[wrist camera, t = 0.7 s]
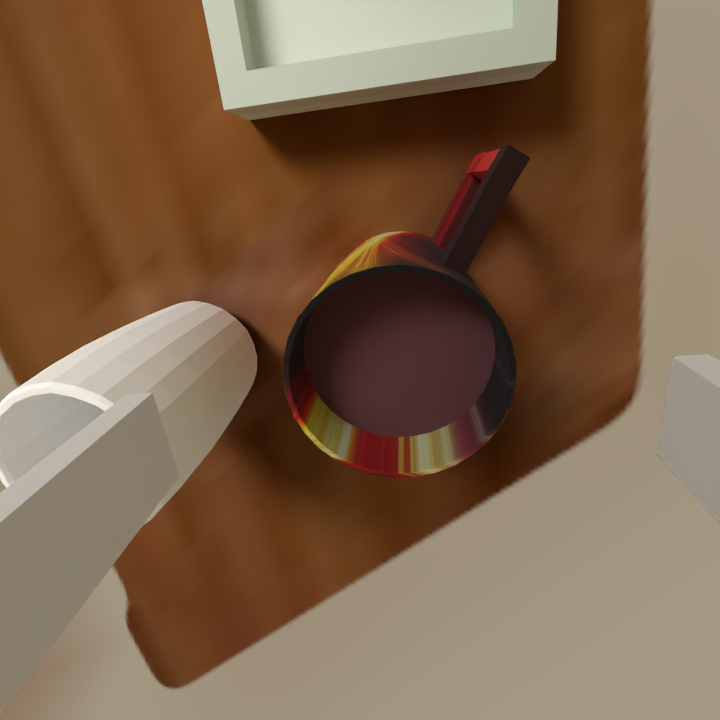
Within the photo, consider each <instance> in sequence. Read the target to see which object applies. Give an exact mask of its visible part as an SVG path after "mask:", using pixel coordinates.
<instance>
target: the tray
mask: <svg viewBox="0 0 720 720" xmlns="http://www.w3.org/2000/svg"><path fill="white" fill-rule="evenodd" d="M202 2H203V7H204V12H205V17H206V22H207V27H208V32H209V37H210V42H211V47H212V52H213V57H214V62H215V67H216V72H217V77H218V82H219V87H220V92H221V97H222V102H223V107H224V110H225V111H228V112H230V113H233V114H235V115H238V116H240V117H243V118H245V119H248V120H255V119H262V118H268V117H275V116H282V115H289V114H296V113H302V112H309V111H316V110H323V109H330V108H336V107H343V106H350V105H357V104H364V103H370V102H377V101H384V100H391V99H398V98H404V97H411V96H418V95H425V94H432V93H438V92H445V91H452V90H459V89H466V88H472V87H479V86H486V85H493V84H500V83H506V82H513V81H520V80H527V79H532V78H534V77H535V76H536V75H537V74H539V73H540V72H541V71H542V70H544V69H545V68H546V67H547V66H549V65H550V64H551V63H552V62H554V61H555V60H556V41H557V16H558V0H202Z"/></svg>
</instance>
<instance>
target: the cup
mask: <svg viewBox="0 0 720 720" xmlns="http://www.w3.org/2000/svg"><path fill="white" fill-rule="evenodd" d="M256 372H257V354H256V350H255V346H254V343H253V341H252V339H251V337H250V335H249V332H248V330H247V329H246V328H245V327H244V326H243V325H242V324H241V323H240V322H239V321H238V320H237V319H236V318H235V317H234V316H232V315H231V314H229V313H228V312H227V311H225V310H224V309H222V308H219V307H217V306H214V305H211V304H209V303H204V302H198V301H189V302H183V303H179V304H176V305H173V306H170V307H168V308H165V309H163V310H160V311H158V312H156V313H153V314H151V315H148V316H146V317H144V318H141V319H139V320H137V321H135V322H132V323H130V324H128V325H126V326H124V327H122V328H119V329H117V330H115V331H113V332H111V333H109V334H107V335H105V336H103V337H101V338H99V339H97V340H95V341H93V342H91V343H89V344H87V345H85V346H83V347H81V348H80V349H78V350H76V351H75V352H73V353H71V354H69V355H68V356H66V357H64V358H63V359H61V360H59V361H58V362H56V363H54V364H53V365H51V366H49V367H48V368H46V369H45V370H43V371H42V372H40V373H39V374H37V375H36V376H34V377H33V378H31V379H30V380H28V381H27V382H25V383H24V384H23V385H21V386H20V387H18V388H17V389H15V390H14V391H12V392H11V393H9V394H8V395H7V396H6V397H5V398H4V399H3V400H2V401H1V402H0V479H1V481H2V483H3V484H4V486H5V487H6V488H7V487H9V486H10V485H11V484H12V483H14V482H15V481H16V480H18V479H19V478H20V477H21V476H23V475H24V474H25V473H26V472H28V471H29V470H30V469H32V468H33V467H34V466H35V465H37V464H38V463H39V462H41V461H42V460H43V459H44V458H46V457H47V456H48V455H50V454H51V453H52V452H53V451H55V450H56V449H57V448H59V447H60V446H61V445H62V444H64V443H65V442H66V441H68V440H69V439H70V438H71V437H73V436H74V435H75V434H77V433H78V432H79V431H80V430H82V429H83V428H84V427H86V426H87V425H88V424H89V423H91V422H92V421H93V420H95V419H96V418H97V417H98V416H100V415H101V414H102V413H104V412H105V411H106V410H107V409H109V408H110V407H111V406H113V405H114V404H115V403H116V402H118V401H119V400H120V399H121V398H123V397H124V396H125V395H127V394H139V393H153V395H154V398H155V401H156V404H157V408H158V411H159V414H160V417H161V420H162V423H163V426H164V429H165V432H166V435H167V439H168V442H169V445H170V448H171V451H172V454H173V457H174V460H175V463H176V466H177V469H178V473H179V478H178V479H177V480H176V482H175V483H174V484H173V486H172V487H171V488H170V490H169V491H168V492H167V494H166V495H165V496H164V498H163V499H162V500H161V502H160V503H159V504H158V506H157V507H156V508H155V510H154V511H153V512H152V514H151V515H150V516H149V518H148V519H147V520H146V522H145V523H144V524H146V523H147V522H148V521H150V520H151V519H152V518H153V517H154V516H155V515H156V514H157V513H158V511H159V510H160V509H161V508H162V507H163V506H164V505H165V504H166V503H167V502H168V501H169V499H170V498H171V497H172V496H173V495H174V494H175V493H176V492H177V491H178V490H179V489H180V487H181V486H182V485H183V484H184V482H185V481H186V480H187V479H188V477H189V476H190V475H191V474H192V473H193V471H194V470H195V469H196V468H197V466H198V465H199V464H200V463H201V461H202V460H203V459H204V458H205V457H206V455H207V454H208V453H209V452H210V450H211V449H212V448H213V446H214V445H215V443H216V442H217V441H218V439H219V438H220V436H221V435H222V433H223V432H224V431H225V429H226V428H227V426H228V425H229V423H230V422H231V420H232V419H233V417H234V416H235V414H236V413H237V411H238V409H239V408H240V406H241V404H242V403H243V401H244V399H245V398H246V396H247V394H248V392H249V391H250V389H251V387H252V385H253V383H254V379H255V376H256ZM144 524H143V525H144Z"/></svg>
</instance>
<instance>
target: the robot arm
mask: <svg viewBox="0 0 720 720" xmlns="http://www.w3.org/2000/svg"><path fill="white" fill-rule="evenodd" d="M657 456H658V457H659V458H660V459H661V460H662V462H663V463H664V464H665V465H666V466H667V467H668V468H669V469H670V470H671V471H672V472H673V474H674V475H675V476H676V477H677V478H678V479H679V480H680V481H681V482H682V483H683V484H684V485H685V487H686V488H687V489H688V490H689V491H690V492H691V493H692V494H693V495H694V496H695V497H696V498H697V500H698V501H699V502H700V503H701V504H702V505H703V506H704V507H705V508H706V509H707V510H708V512H709V513H710V514H711V515H712V516H713V517H714V518H715V519H716V520H717V521H718V523H720V361H719V360H718V359H716V358H714V357H712V356H711V355H709V354H700V355H686V356H673V357H672V362H671V368H670V374H669V381H668V387H667V393H666V400H665V406H664V413H663V419H662V426H661V432H660V439H659V445H658V451H657ZM178 478H179V473H178V469H177V466H176V463H175V460H174V457H173V454H172V451H171V448H170V445H169V442H168V439H167V435H166V432H165V429H164V426H163V423H162V420H161V417H160V414H159V411H158V408H157V404H156V401H155V398H154V395H153V393H139V394H127V395H125V396H124V397H123V398H121V399H120V400H119V401H118V402H116V403H115V404H114V405H113V406H111V407H110V408H109V409H107V410H106V411H105V412H104V413H102V414H101V415H100V416H98V417H97V418H96V419H95V420H93V421H92V422H91V423H89V424H88V425H87V426H86V427H84V428H83V429H82V430H80V431H79V432H78V433H77V434H75V435H74V436H73V437H71V438H70V439H69V440H68V441H66V442H65V443H64V444H62V445H61V446H60V447H59V448H57V449H56V450H55V451H53V452H52V453H51V454H50V455H48V456H47V457H46V458H44V459H43V460H42V461H41V462H39V463H38V464H37V465H35V466H34V467H33V468H32V469H30V470H29V471H28V472H26V473H25V474H24V475H23V476H21V477H20V478H19V479H18V480H16V481H15V482H14V483H12V484H11V485H10V486H9V487H7V488H6V489H5V490H4V491H2V492H1V493H0V714H1V713H2V712H3V710H4V709H5V708H6V706H7V705H8V703H9V702H10V701H11V700H12V698H13V697H14V696H15V694H16V693H17V691H18V690H19V689H20V688H21V686H22V685H23V684H24V682H25V681H26V680H27V678H28V677H29V675H30V674H31V673H32V672H33V670H34V669H35V668H36V666H37V665H38V664H39V662H40V661H41V660H42V658H43V657H44V656H45V654H46V653H47V652H48V650H49V649H50V648H51V646H52V645H53V644H54V642H55V641H56V640H57V638H58V637H59V636H60V634H61V633H62V632H63V630H64V629H65V628H66V626H67V625H68V624H69V622H70V621H71V620H72V618H73V617H74V616H75V615H76V613H77V612H78V610H79V609H80V608H81V607H82V605H83V604H84V603H85V601H86V600H87V599H88V597H89V596H90V595H91V593H92V592H93V591H94V589H95V588H96V587H97V585H98V584H99V583H100V581H101V580H102V579H103V577H104V576H105V575H106V573H107V572H108V571H109V569H110V568H111V567H112V565H113V564H114V563H115V561H116V560H117V559H118V557H119V556H120V555H121V553H122V552H123V551H124V549H125V548H126V547H127V545H128V544H129V543H130V541H131V540H132V539H133V537H134V536H135V535H136V533H137V532H138V531H139V529H140V528H141V527H142V526H143V524H144V523H145V522H146V520H147V519H148V518H149V516H150V515H151V514H152V512H153V511H154V510H155V508H156V507H157V506H158V504H159V503H160V502H161V500H162V499H163V498H164V496H165V495H166V494H167V492H168V491H169V490H170V488H171V487H172V486H173V484H174V483H175V482H176V480H177V479H178Z"/></svg>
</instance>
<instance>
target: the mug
mask: <svg viewBox="0 0 720 720" xmlns="http://www.w3.org/2000/svg"><path fill="white" fill-rule="evenodd" d="M529 159H530V157H528V156H526V155H525V154H523V153H521V152H520V151H518V150H517V149H515V148H513V147H512V146H510V145H508V146H505V147H502V148H499V149H496V150H494V151H491V152H488V151H486V152H483V153H480V154H478V155H475V157H474V159H473V160H472V162H471V164H470V166H469V167H468V169H467V171H466V173H465V175H464V177H463V179H462V181H461V183H460V185H459V187H458V188H457V190H456V192H455V194H454V196H453V198H452V200H451V202H450V204H449V206H448V208H447V210H446V212H445V214H444V216H443V218H442V220H441V222H440V224H439V226H438V228H437V230H436V232H435V234H434V236H433V238H431V237H428V236H424V235H421V234H418V233H413V232H403V231H398V232H388V233H383V234H380V235H377V236H374V237H371V238H369V239H367V240H366V241H364V242H362V243H360V244H358V245H357V246H356V247H355V248H354V249H352V250H351V251H350V252H349V253H348V254H347V255H346V256H345V257H344V259H343V260H342V261H341V262H340V264H339V265H338V266H337V268H336V269H335V270H334V271H333V273H332V274H331V275H330V277H329V278H328V279H327V280H326V282H325V283H324V284H323V286H322V287H321V288H320V289H319V291H318V292H317V293H316V295H315V296H314V297H313V299H312V300H311V301H310V302H309V304H308V305H307V306H306V308H305V309H304V310H303V311H302V313H301V314H300V315H299V317H298V318H297V320H296V322H295V324H294V326H293V328H292V330H291V332H290V334H289V336H288V340H287V344H286V348H285V352H284V356H283V383H284V388H285V394H286V398H287V401H288V403H289V406H290V408H291V411H292V413H293V416H294V418H295V419H296V421H297V422H298V424H299V425H300V427H301V428H302V430H303V431H304V433H305V434H306V435H307V436H308V437H309V438H310V439H311V440H312V441H313V442H314V443H315V444H316V446H317V447H318V448H320V449H321V450H322V451H324V452H325V453H326V454H328V455H329V456H331V457H332V458H333V459H335V460H336V461H338V462H341V463H343V464H345V465H347V466H349V467H351V468H353V469H355V470H359V471H362V472H365V473H369V474H372V475H378V476H385V477H393V478H398V477H417V476H422V475H427V474H432V473H436V472H439V471H442V470H444V469H447V468H450V467H452V466H455V465H457V464H458V463H460V462H462V461H463V460H465V459H467V458H468V457H470V456H472V455H473V454H474V453H475V452H477V451H478V450H479V449H480V448H481V447H482V446H483V445H485V444H486V443H487V442H488V441H489V440H490V438H491V437H492V436H493V435H494V433H495V432H496V431H497V429H498V428H499V427H500V426H501V424H502V422H503V420H504V418H505V416H506V414H507V412H508V410H509V408H510V406H511V402H512V398H513V394H514V390H515V386H516V361H515V356H514V351H513V346H512V342H511V339H510V337H509V335H508V333H507V330H506V328H505V326H504V324H503V322H502V320H501V319H500V317H499V316H498V314H497V313H496V312H495V310H494V309H493V307H492V306H491V305H490V303H489V302H488V300H487V299H486V298H485V296H484V295H483V293H482V292H481V291H480V289H479V288H478V286H477V285H476V283H475V282H474V281H473V279H472V278H471V276H470V275H469V274H468V272H467V271H466V270H467V269H468V267H469V265H470V263H471V261H472V260H473V258H474V256H475V254H476V252H477V251H478V249H479V247H480V245H481V243H482V242H483V240H484V238H485V236H486V234H487V233H488V231H489V229H490V227H491V225H492V224H493V222H494V220H495V218H496V216H497V214H498V213H499V211H500V209H501V207H502V205H503V204H504V202H505V200H506V198H507V196H508V195H509V193H510V191H511V189H512V187H513V186H514V184H515V182H516V180H517V179H518V177H519V176H520V174H521V172H522V171H523V169H524V167H525V166H526V164H527V163H528V161H529Z"/></svg>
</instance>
